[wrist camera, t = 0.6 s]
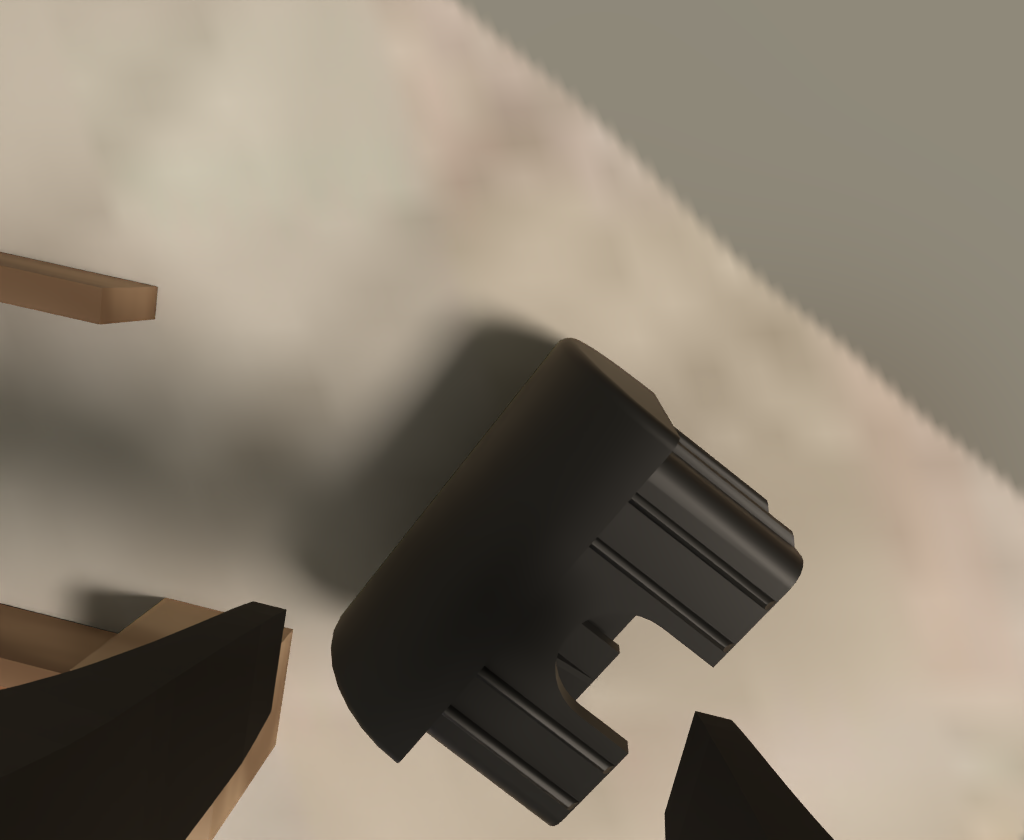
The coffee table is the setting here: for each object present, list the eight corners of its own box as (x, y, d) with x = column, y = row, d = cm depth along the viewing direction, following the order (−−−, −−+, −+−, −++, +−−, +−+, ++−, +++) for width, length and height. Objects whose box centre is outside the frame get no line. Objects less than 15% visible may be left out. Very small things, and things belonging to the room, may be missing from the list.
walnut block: (276, 743, 24) (208, 846, 20) (154, 711, 24) (60, 806, 20) (294, 628, 23) (225, 709, 19) (166, 596, 23) (70, 669, 19)
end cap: (569, 323, 20) (560, 344, 14) (757, 472, 21) (837, 563, 14) (375, 568, 22) (287, 688, 16) (547, 700, 23) (531, 872, 16)
